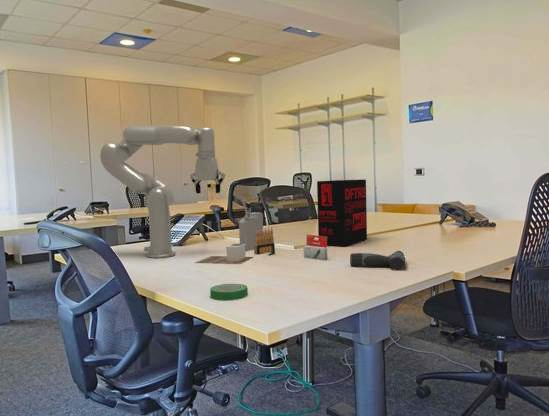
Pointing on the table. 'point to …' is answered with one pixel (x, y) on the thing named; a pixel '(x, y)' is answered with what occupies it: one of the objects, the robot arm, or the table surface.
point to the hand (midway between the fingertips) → (208, 193)
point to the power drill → (378, 260)
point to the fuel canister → (249, 227)
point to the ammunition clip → (264, 242)
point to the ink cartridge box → (316, 248)
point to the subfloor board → (221, 260)
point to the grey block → (235, 252)
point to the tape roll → (228, 291)
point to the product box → (342, 211)
